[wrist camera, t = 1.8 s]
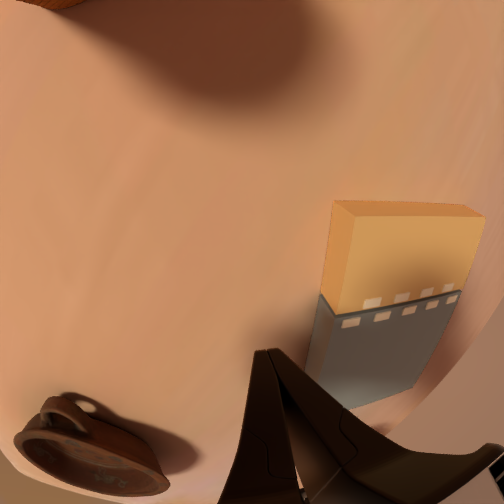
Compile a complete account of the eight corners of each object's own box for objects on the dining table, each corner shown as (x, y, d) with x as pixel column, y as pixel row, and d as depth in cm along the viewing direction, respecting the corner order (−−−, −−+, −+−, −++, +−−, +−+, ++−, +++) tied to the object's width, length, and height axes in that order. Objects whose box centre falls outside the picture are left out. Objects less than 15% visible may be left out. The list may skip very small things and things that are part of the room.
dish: (160, 394, 21) (160, 446, 17) (173, 475, 30) (175, 505, 26) (-9, 365, 17) (-26, 404, 12) (60, 460, 26) (56, 487, 22)
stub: (444, 272, 20) (463, 289, 18) (320, 290, 18) (336, 316, 16) (463, 205, 18) (487, 218, 15) (333, 200, 16) (356, 217, 13)
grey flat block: (401, 371, 26) (413, 388, 24) (297, 399, 24) (305, 422, 22) (443, 275, 21) (462, 292, 18) (319, 294, 18) (335, 320, 16)
